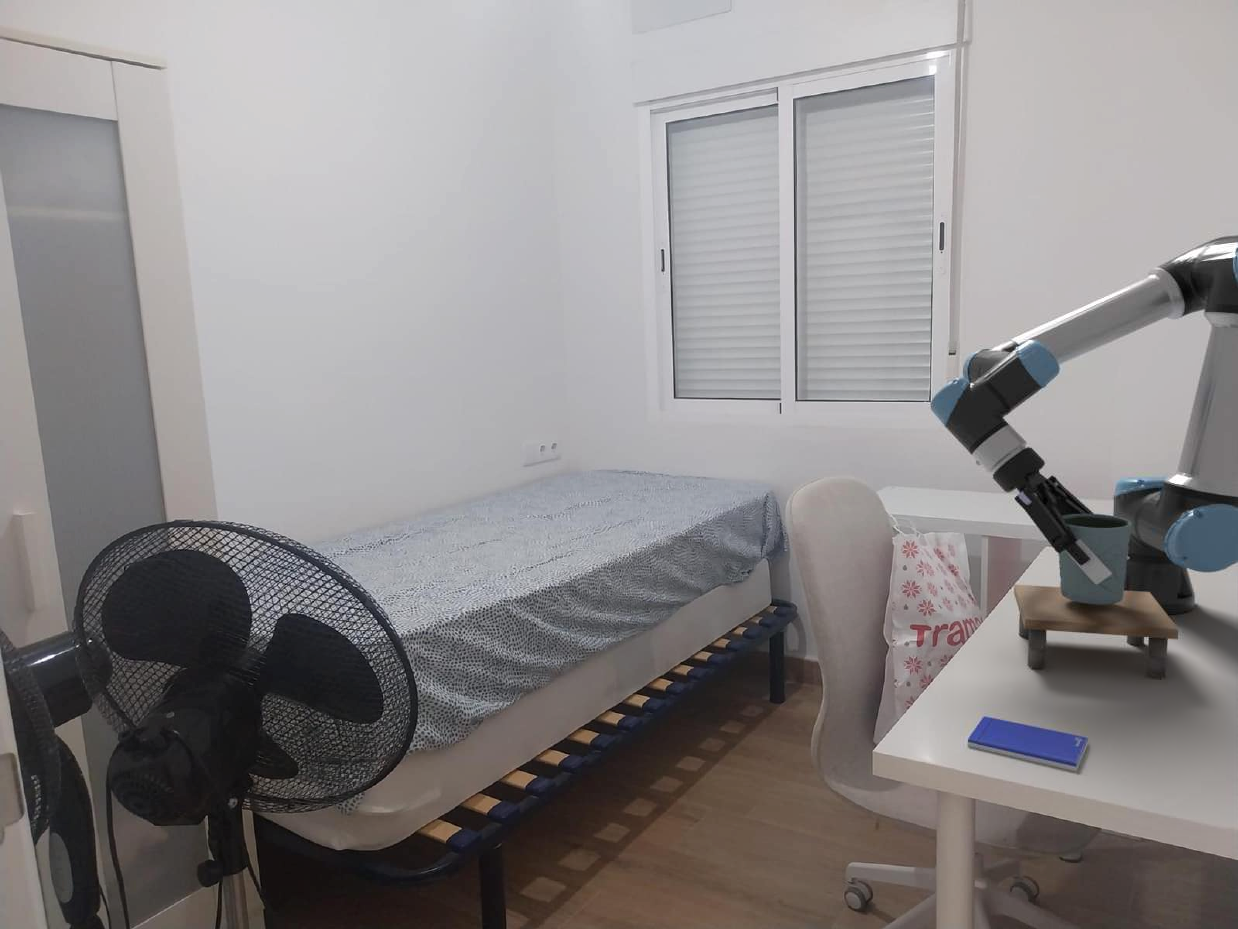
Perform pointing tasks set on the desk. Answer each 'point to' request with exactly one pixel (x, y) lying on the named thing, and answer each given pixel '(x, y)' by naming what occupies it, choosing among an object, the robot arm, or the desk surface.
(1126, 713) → the desk surface
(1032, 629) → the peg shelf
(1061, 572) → the teal plant pot
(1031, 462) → the robot arm
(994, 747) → the hard drive
